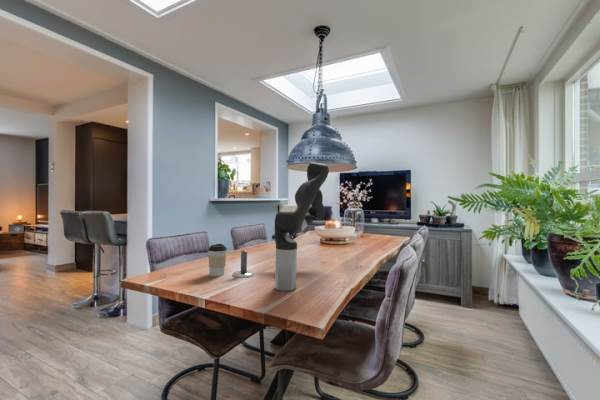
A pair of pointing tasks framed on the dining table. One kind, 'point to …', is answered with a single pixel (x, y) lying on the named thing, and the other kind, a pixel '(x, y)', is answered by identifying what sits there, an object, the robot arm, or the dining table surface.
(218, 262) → the coffee cup
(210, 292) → the dining table surface
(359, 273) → the dining table surface
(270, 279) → the dining table surface
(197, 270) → the dining table surface
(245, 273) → the grey post on base
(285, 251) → the robot arm
